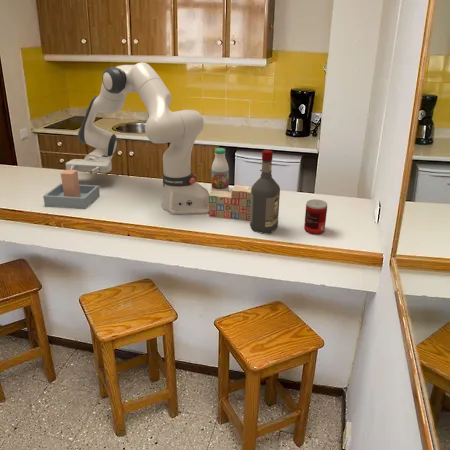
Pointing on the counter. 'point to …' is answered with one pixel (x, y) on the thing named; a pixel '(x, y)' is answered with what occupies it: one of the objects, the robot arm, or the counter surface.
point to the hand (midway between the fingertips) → (81, 171)
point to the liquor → (265, 198)
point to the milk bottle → (220, 171)
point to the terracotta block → (70, 183)
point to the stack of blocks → (231, 203)
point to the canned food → (315, 216)
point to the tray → (59, 200)
